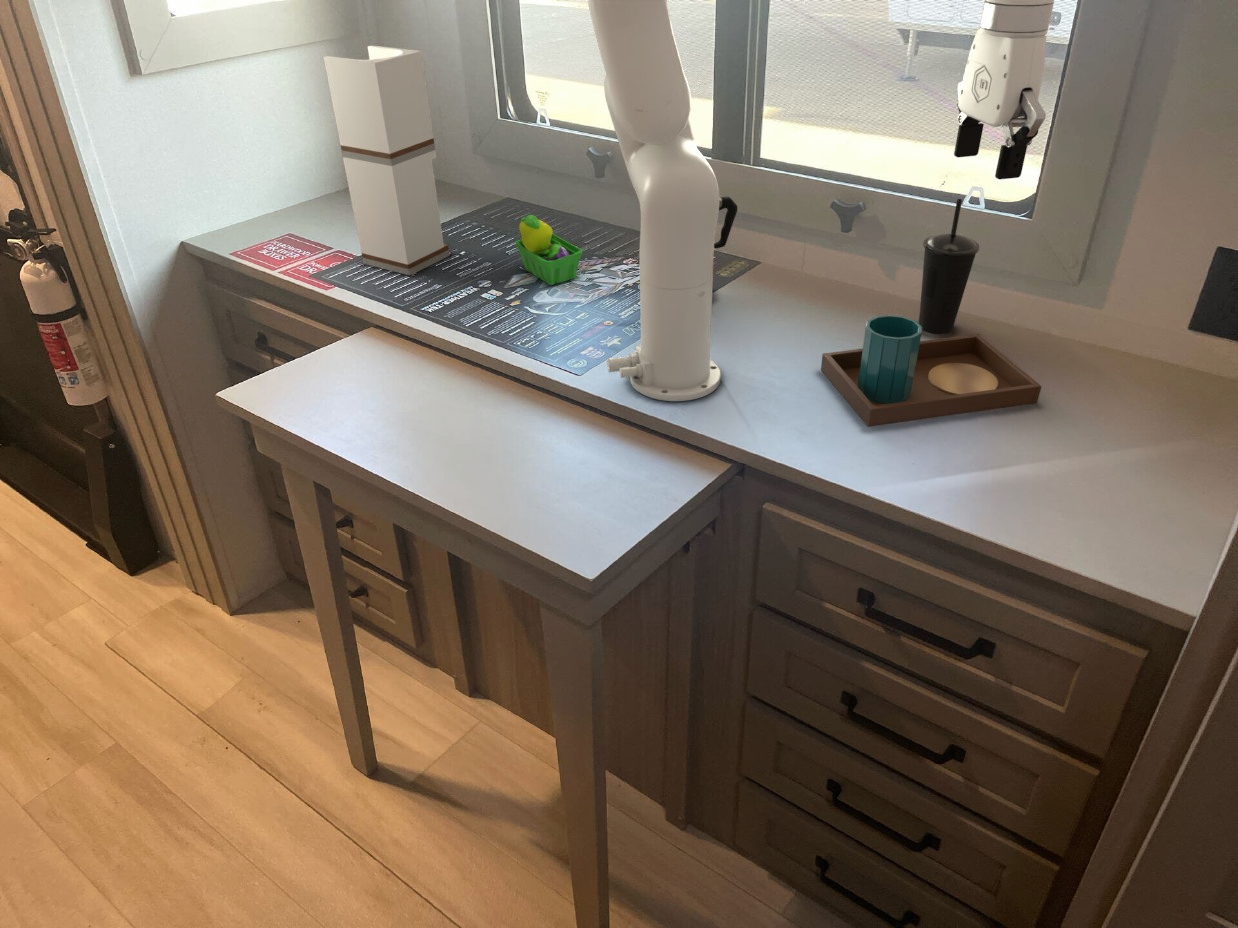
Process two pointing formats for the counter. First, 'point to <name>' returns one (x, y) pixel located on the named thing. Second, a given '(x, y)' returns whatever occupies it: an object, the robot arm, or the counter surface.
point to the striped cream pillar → (388, 156)
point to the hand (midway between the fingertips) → (985, 166)
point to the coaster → (961, 378)
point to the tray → (924, 395)
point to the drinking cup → (945, 277)
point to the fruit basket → (546, 252)
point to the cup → (889, 358)
